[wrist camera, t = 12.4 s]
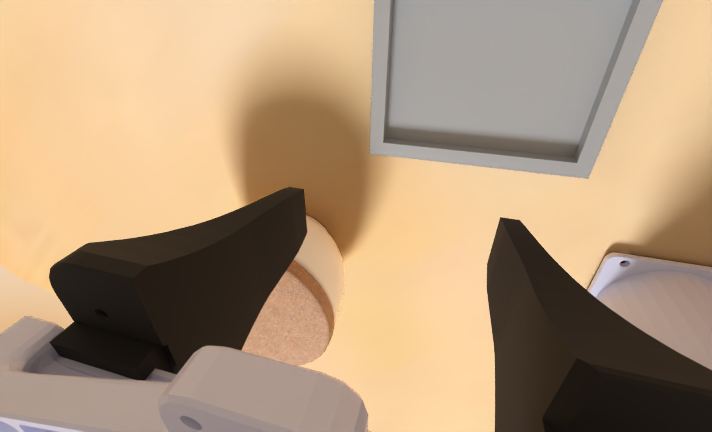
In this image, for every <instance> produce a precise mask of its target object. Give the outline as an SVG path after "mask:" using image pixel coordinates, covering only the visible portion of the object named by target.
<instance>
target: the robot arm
mask: <svg viewBox="0 0 712 432" xmlns="http://www.w3.org/2000/svg"><path fill="white" fill-rule="evenodd" d="M306 235H307V221H306V210H305V199H304V189H299V188H292V187H288V188H285V189H282V190H280V191H278V192H275V193H273V194H271V195H269V196H267V197H264V198H262V199H260V200H258V201H256V202H254V203H251V204H249V205H247V206H245V207H242V208H240V209H237V210H235V211H233V212H230V213H228V214H225V215H223V216H220V217H217V218H215V219H212V220H209V221H206V222H202V223H199V224H196V225H193V226H189V227H185V228H181V229H177V230H173V231H169V232H164V233H159V234H154V235H149V236H143V237H137V238H130V239H123V240H113V241H104V242H94V243H87V244H85V245H84V246H82V247H80V248H79V249H77V250H76V251H74V252H73V253H71V254H70V255H68V256H67V257H65V258H63V259H62V260H60V261H59V262H57V263H56V264H54V265H53V266H52V267H51V268H50V274H49V279H50V283H51V286H52V288H53V289H54V291H55V293H56V295H57V296H58V298H59V299H60V301H61V302H62V304H63V305H64V307H65V308H66V310H67V311H68V313H69V314H70V316H71V317H72V319H73V321H75V322H73V323H72V324H71V325H70V326H69V327H67V328H66V329H65V330H64V329H63V328H62V327H60V326H59V325H57V324H55V323H52V322H49V321H45V320H42V319H38V318H35V317H32V316H25V317H23V318H22V319H20V320H19V321H18V322H17V323H15V324H14V325H12V326H11V327H9V328H8V329H7V330H5V331H4V332H2V333H1V334H0V432H371V431H369V430H368V429H367V427H368V413H367V411H366V408H365V406H364V403H363V400H362V399H361V397H360V395H358V394H357V393H356V392H355V391H354V390H353V389H352V388H350V387H349V386H348V385H347V384H346V383H345V382H343V381H341V380H339V379H336V378H334V377H332V376H329V375H327V374H325V373H322V372H319V371H315V370H311V369H307V368H304V367H300V366H296V365H293V364H289V363H285V362H281V361H278V360H274V359H270V358H266V357H263V356H259V355H255V354H252V353H248V352H244V351H241V350H242V348H243V346H244V344H245V342H246V339H247V337H248V335H249V333H250V331H251V329H252V327H253V325H254V323H255V321H256V319H257V317H258V315H259V313H260V311H261V310H262V308H263V306H264V304H265V302H266V301H267V299H268V297H269V296H270V294H271V292H272V291H273V290H274V288H275V287H276V285H277V284H278V282H279V281H280V279H281V278H282V276H283V275H284V273H285V272H286V270H287V269H288V267H289V266H290V264H291V263H292V261H293V260H294V258H295V257H296V255H297V253H298V252H299V250H300V248H301V246H302V244H303V241H304V239H305V237H306ZM621 261H626V262H625V263H620V262H621ZM487 293H488V302H489V310H490V318H491V325H492V333H493V341H494V352H495V432H712V267H707V266H701V265H694V264H688V263H681V262H675V261H668V260H662V259H655V258H649V257H642V256H636V255H629V254H623V253H609V254H608V255H606V256H605V257H604V259H603V261H602V263H601V265H600V267H599V269H598V271H597V273H596V275H595V277H594V279H593V281H592V282H591V284H590V286H589V288H588V290H586V289H585V288H583V287H582V286H581V285H580V284H579V283H578V282H576V281H575V280H574V279H573V278H572V277H571V276H570V275H569V274H568V273H567V272H566V271H565V270H564V269H563V268H562V267H561V266H560V265H559V264H558V263H557V262H556V261H555V260H554V259H553V258H552V257H551V256H550V255H549V254H548V253H547V252H546V250H545V249H544V248H543V247H542V246H541V245H540V244H539V242H538V241H537V240H536V239H535V238H534V237H533V235H532V234H531V233H530V232H529V231H528V229H527V228H526V227H525V226H524V225H523V223H522V222H521V221H520V220H515V219H508V218H501V217H500V221H499V224H498V228H497V231H496V235H495V238H494V242H493V245H492V249H491V253H490V256H489V260H488V263H487Z"/></svg>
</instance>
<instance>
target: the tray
mask: <svg viewBox="0 0 712 432" xmlns="http://www.w3.org/2000/svg"><path fill="white" fill-rule="evenodd" d="M662 1H663V0H374V27H373V61H372V94H371V128H370V154H375V155H384V156H392V157H401V158H410V159H419V160H428V161H437V162H445V163H454V164H463V165H472V166H481V167H489V168H498V169H507V170H516V171H525V172H533V173H542V174H551V175H560V176H569V177H577V178H586V179H588V178H589V176H590V174H591V171H592V169H593V166H594V164H595V162H596V159H597V157H598V154H599V152H600V150H601V147H602V145H603V142H604V140H605V138H606V135H607V133H608V130H609V128H610V126H611V123H612V121H613V119H614V116H615V114H616V111H617V109H618V107H619V104H620V102H621V99H622V97H623V95H624V92H625V90H626V87H627V85H628V83H629V80H630V78H631V75H632V73H633V71H634V68H635V66H636V64H637V61H638V59H639V56H640V54H641V52H642V49H643V47H644V44H645V42H646V40H647V37H648V35H649V32H650V30H651V28H652V25H653V23H654V20H655V18H656V16H657V13H658V11H659V8H660V6H661V4H662Z"/></svg>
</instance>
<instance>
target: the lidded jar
mask: <svg viewBox="0 0 712 432" xmlns="http://www.w3.org/2000/svg"><path fill="white" fill-rule="evenodd" d="M306 221H307V235H306V237H305V239H304V241H303V244H302V246H301V248H300V250H299V252H298V253H297V255H296V257H295V258H294V260H293V261H292V263H291V264H290V266H289V267H288V269H287V270H286V272H285V273H284V275H283V276H282V278H281V279H280V281H279V282H278V284H277V285H276V287H275V288H274V290H273V291H272V292H271V294H270V296H269V297H268V299H267V301H266V302H265V304H264V306H263V308H262V310H261V311H260V313H259V315H258V317H257V319H256V321H255V323H254V325H253V327H252V329H251V331H250V333H249V335H248V337H247V339H246V342H245V344H244V346H243V348H242V350H241V351H244V352H248V353H252V354H255V355H259V356H263V357H266V358H270V359H274V360H278V361H281V362H285V363H289V364H293V365H296V366H298V365H303V364H306V363H309V362H312V361H313V360H315V359H316V358H318V357H319V356H321V355H322V354H323V352H324V351H325V350H326V348H327V346H328V344H329V342H330V340H331V337H332V334H333V330H334V325H335V323H336V320H337V317H338V314H339V312H340V308H341V304H342V300H343V295H344V289H345V269H344V263H343V259H342V256H341V254H340V251H339V248H338V246H337V245H336V243H335V241H334V240H333V238H332V237H331V236H330V234H329V233H328V231H327V230H326V229H325V228H324V226H323V225H322V224H320V223H319V222H318V221H317V220H315V219H314V218H312V217H310V216H308V215H306Z"/></svg>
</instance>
